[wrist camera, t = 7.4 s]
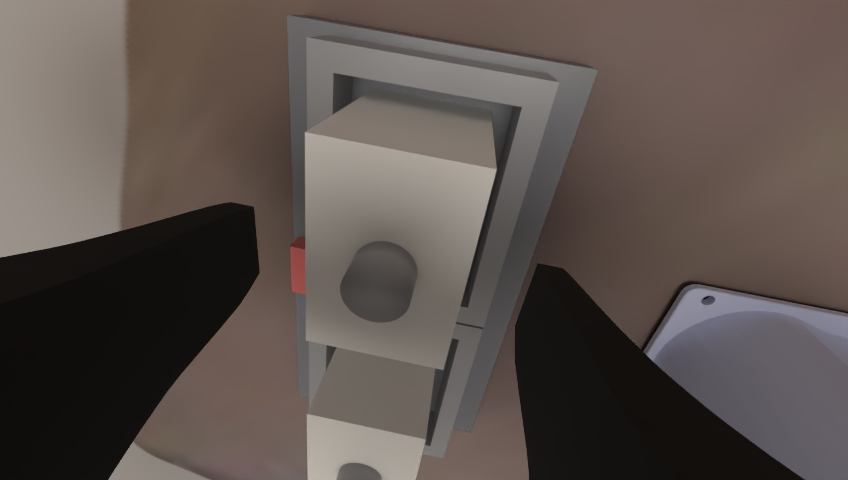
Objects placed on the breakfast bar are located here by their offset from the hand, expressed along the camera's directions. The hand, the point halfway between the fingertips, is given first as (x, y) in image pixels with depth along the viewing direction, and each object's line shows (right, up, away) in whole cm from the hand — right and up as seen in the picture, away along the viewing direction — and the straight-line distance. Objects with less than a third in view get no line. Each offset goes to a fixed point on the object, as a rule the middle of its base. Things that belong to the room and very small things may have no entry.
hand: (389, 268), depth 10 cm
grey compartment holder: (0, 0, +8) cm, 8 cm away
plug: (+1, +3, +5) cm, 6 cm away
